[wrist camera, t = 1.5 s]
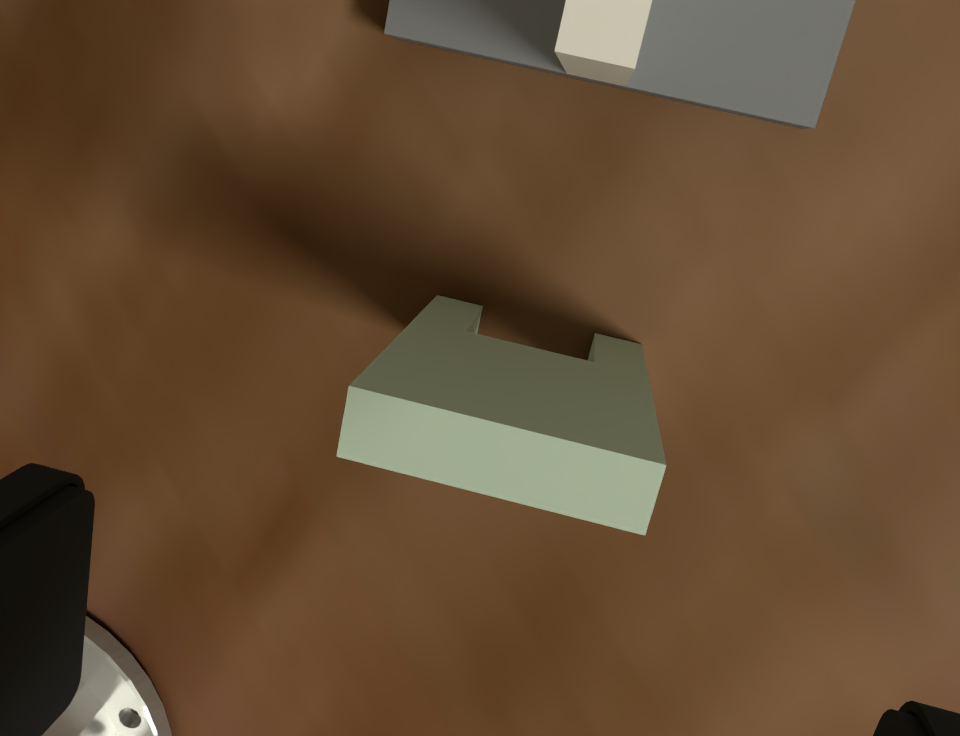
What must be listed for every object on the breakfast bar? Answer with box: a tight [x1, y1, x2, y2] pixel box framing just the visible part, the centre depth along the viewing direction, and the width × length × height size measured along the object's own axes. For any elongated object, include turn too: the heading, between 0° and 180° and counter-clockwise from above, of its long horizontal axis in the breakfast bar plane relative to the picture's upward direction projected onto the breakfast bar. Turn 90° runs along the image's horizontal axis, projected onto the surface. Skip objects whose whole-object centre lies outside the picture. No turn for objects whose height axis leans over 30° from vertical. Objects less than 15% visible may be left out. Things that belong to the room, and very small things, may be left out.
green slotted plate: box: [337, 295, 666, 535], centre depth 22 cm, size 7×2×10 cm, turn 78°
